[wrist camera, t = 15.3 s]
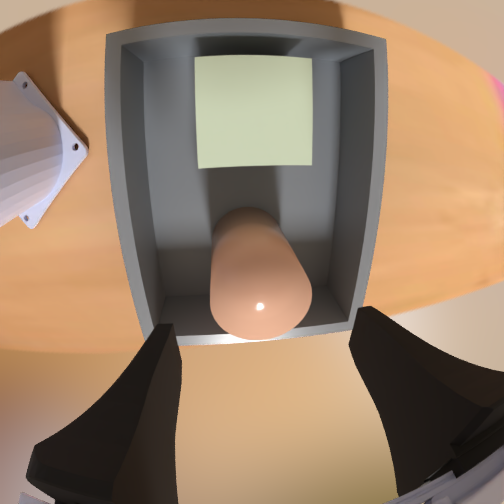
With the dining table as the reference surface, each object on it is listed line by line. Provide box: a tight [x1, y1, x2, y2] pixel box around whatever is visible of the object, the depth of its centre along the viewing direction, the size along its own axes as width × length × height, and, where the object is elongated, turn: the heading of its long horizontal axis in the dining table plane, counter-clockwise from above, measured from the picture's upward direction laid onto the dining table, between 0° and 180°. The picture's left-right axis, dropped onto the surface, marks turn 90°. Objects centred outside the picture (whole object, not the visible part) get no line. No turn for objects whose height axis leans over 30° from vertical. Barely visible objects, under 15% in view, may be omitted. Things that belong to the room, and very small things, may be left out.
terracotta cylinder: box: [210, 207, 312, 340], centre depth 16 cm, size 5×5×7 cm
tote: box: [105, 18, 388, 346], centre depth 16 cm, size 18×14×5 cm
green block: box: [195, 55, 313, 169], centre depth 13 cm, size 5×5×5 cm
